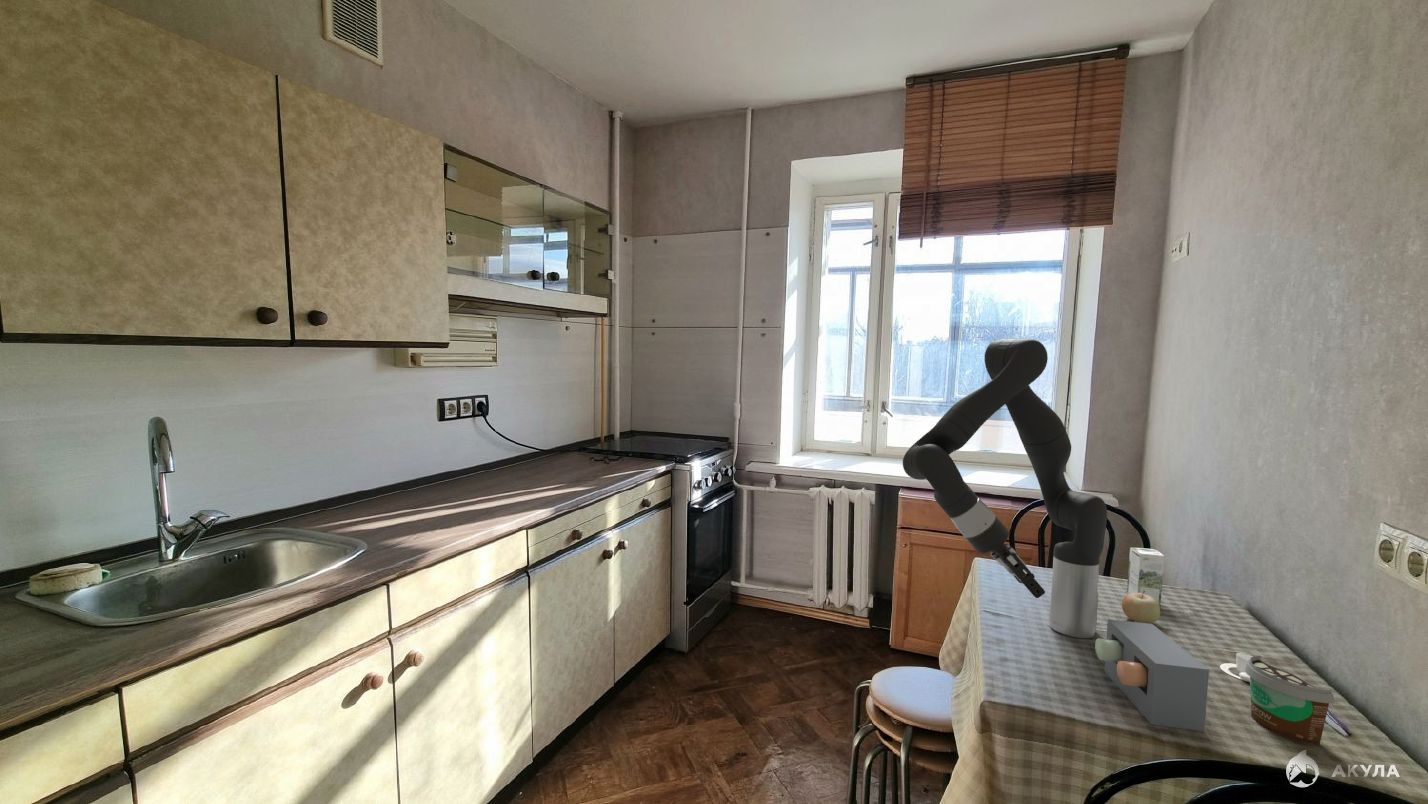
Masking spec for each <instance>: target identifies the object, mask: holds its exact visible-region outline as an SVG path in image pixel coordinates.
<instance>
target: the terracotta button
mask: <svg viewBox="0 0 1428 804" xmlns="http://www.w3.org/2000/svg"><path fill="white" fill-rule="evenodd" d="M1148 671H1149V668H1148V667H1147V666H1145V665H1144V664H1143V663H1136V662H1127V661H1119V662H1118V663H1117V675H1118V678H1119V680H1120V682H1121V683H1122V684H1123V685H1131V686H1139V687H1147V685H1148Z"/></svg>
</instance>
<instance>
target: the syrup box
mask: <svg viewBox="0 0 1428 804" xmlns="http://www.w3.org/2000/svg"><path fill="white" fill-rule="evenodd" d="M1128 559H1129V560H1128V572H1127V584H1126V585H1127V586H1126V595H1127V594H1130V593H1142V594H1143V590H1144V591H1145V593H1144V594H1145V595H1148V596H1150V597H1152V598H1154V599H1155V600H1156V601H1157V603H1158V604H1159V607H1160V608H1161V603H1162V595H1163V594H1162V593H1163V592H1162V590H1163V581H1164V579H1163V578H1164V568H1165V555H1164V554H1163V553H1161V552H1160V551H1159V550H1157V549H1154V548H1143V547H1132V546H1131V547H1130V548H1129V556H1128Z"/></svg>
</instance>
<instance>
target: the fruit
mask: <svg viewBox="0 0 1428 804" xmlns="http://www.w3.org/2000/svg"><path fill="white" fill-rule="evenodd" d="M1144 593H1145V591H1144V590H1143V594H1142V593H1130V594H1127V593H1126V595H1125V596H1123V598H1122V601H1121V607H1122V612H1123V613H1124V615H1125V616H1126V617H1127V618H1128V619H1129V620H1130V621H1131V622H1138V623H1148V624H1154V623H1157V621H1158V620H1159V618H1160V617H1161V606H1160V607H1159V604H1158V603H1157V601H1156V600H1155V599H1154V598H1152V597H1150V596H1148V595H1145V594H1144Z"/></svg>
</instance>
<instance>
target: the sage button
mask: <svg viewBox="0 0 1428 804" xmlns="http://www.w3.org/2000/svg"><path fill="white" fill-rule="evenodd" d="M1094 645H1095V646H1094V647H1095V649H1094V650H1095V653H1096V657H1097V658H1098V659H1099V660H1100V661H1104V662H1105V661H1113V662H1119V661H1123V649H1124V644H1122V643H1121V642H1120V641H1117V640H1109V639H1106V638H1099V637H1098V638H1097V639H1096V640H1095V643H1094Z"/></svg>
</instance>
